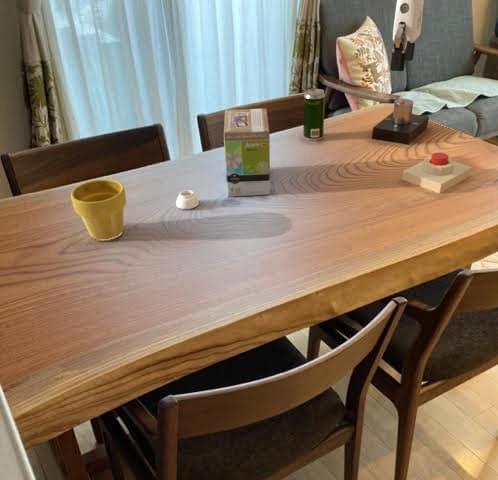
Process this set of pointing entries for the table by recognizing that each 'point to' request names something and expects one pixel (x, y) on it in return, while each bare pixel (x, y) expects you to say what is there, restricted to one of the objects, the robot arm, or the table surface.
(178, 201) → the lidless jar
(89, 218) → the flower pot
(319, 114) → the beer can
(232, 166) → the tea box
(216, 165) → the table surface
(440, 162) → the button
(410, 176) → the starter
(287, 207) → the table surface
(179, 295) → the table surface
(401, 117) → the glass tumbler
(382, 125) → the hob
